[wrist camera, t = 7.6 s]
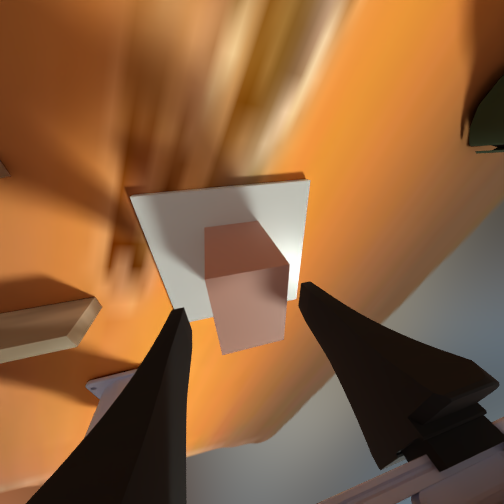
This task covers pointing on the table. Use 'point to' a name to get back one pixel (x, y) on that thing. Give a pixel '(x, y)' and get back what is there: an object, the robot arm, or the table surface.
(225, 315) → the block
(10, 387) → the table surface
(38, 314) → the frame
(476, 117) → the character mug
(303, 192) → the pad
